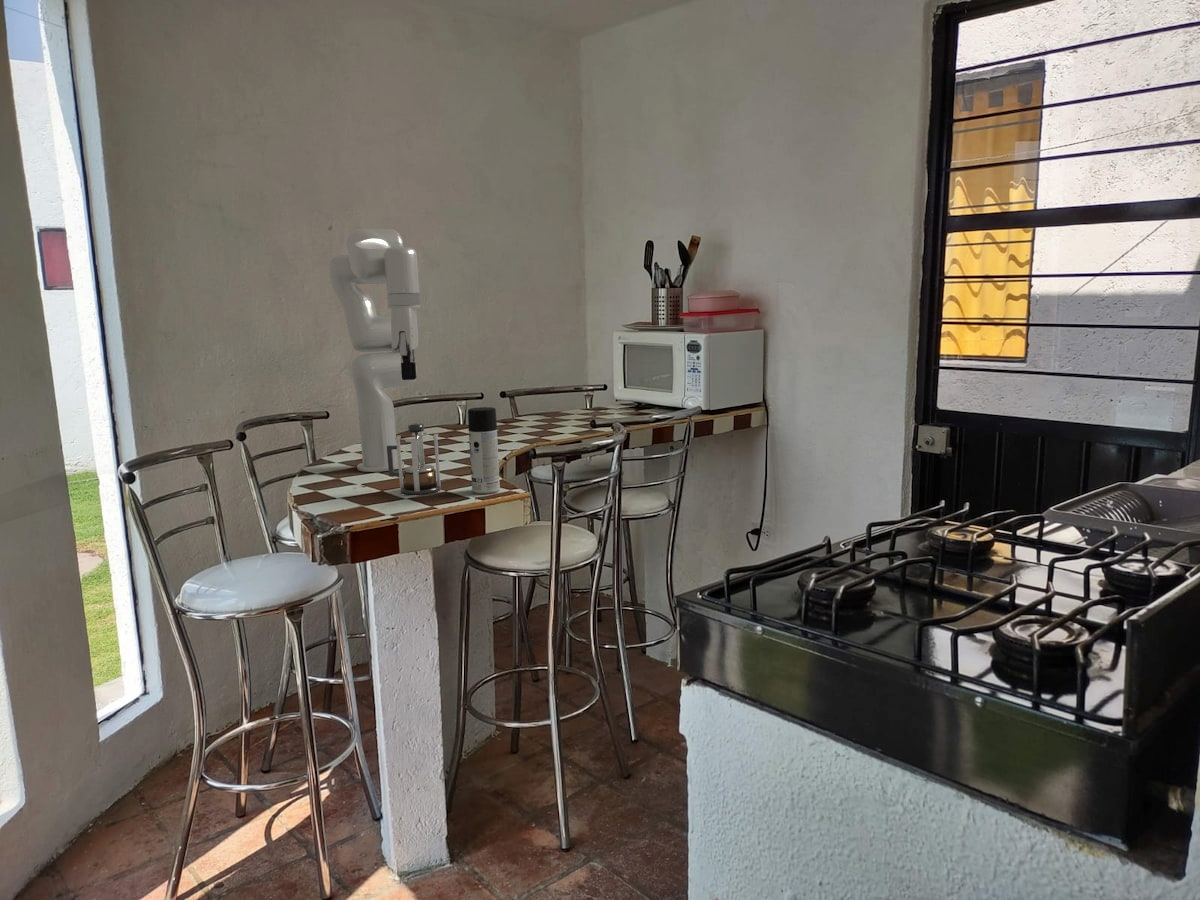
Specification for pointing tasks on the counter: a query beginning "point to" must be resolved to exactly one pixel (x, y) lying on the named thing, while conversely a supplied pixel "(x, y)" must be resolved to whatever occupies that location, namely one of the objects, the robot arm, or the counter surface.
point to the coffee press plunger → (422, 468)
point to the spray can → (483, 450)
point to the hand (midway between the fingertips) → (409, 379)
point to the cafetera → (415, 468)
